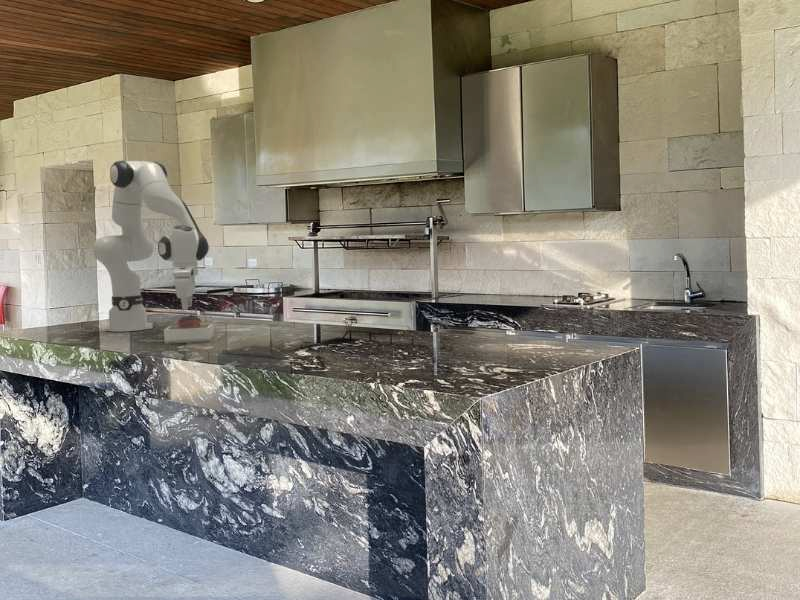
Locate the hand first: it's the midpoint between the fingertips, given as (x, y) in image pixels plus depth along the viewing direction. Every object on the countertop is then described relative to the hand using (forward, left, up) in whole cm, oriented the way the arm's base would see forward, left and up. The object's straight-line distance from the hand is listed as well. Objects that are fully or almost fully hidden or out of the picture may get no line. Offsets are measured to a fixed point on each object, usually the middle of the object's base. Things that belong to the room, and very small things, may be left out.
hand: (187, 308), depth 312 cm
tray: (0, 0, -12) cm, 12 cm away
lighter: (+2, 0, -9) cm, 10 cm away
